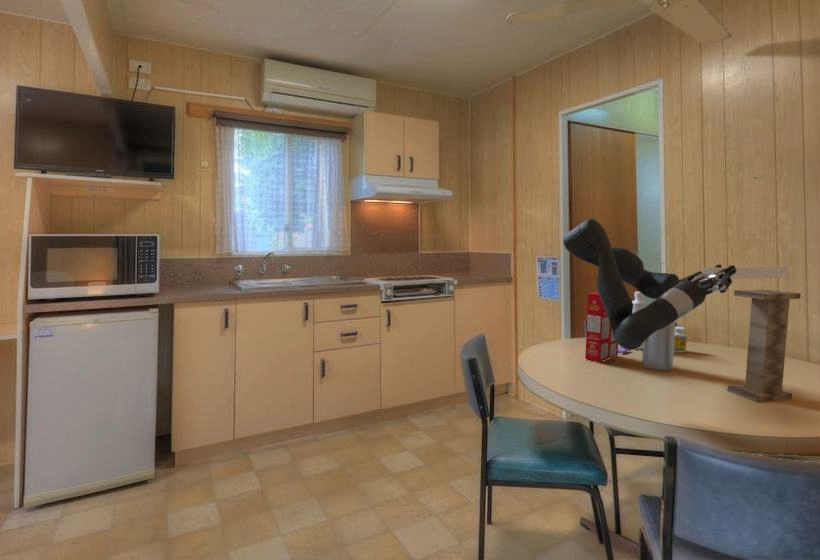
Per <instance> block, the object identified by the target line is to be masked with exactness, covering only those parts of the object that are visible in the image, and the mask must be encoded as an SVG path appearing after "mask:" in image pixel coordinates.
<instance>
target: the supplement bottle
mask: <svg viewBox="0 0 820 560" xmlns="http://www.w3.org/2000/svg"><path fill="white" fill-rule="evenodd" d="M687 338H688V337H687V334H686V328H685V327H682V326H675V336H674V353H686V351H687Z"/></svg>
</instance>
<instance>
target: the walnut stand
mask: <svg viewBox="0 0 820 560" xmlns="http://www.w3.org/2000/svg"><path fill="white" fill-rule="evenodd" d="M733 296H735V297H741V298H742V297H743V298H750V299H751V301H750V303H751V304H750V316H749V329H748V343H747V357H746V369H745V381H744V382H745V383H744V384H733V385H727V388H726V391H727V392H729V393H732V394H735V395H738V396H740V397H743V398H746V399H748V400H751V401H754V402H756V403H757V402H769V401H782V400H783V401H784V400H792V397H793V393H791V392H789V391H786V390H785V391H784V390H783V385H784V384H783V383H784V382H783V381H784V370H785V360H786V358H785V357H786V347H787V334H788V321H789V311H790V301H791V300H801V293H800V292H791V291H782V290H775V289H773V290H772V289H742V290H734V291H733Z"/></svg>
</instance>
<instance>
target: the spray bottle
mask: <svg viewBox="0 0 820 560" xmlns="http://www.w3.org/2000/svg"><path fill="white" fill-rule="evenodd" d="M633 296H634V300H632V302H633V310H632V313H634V312H637V311H639V310H641V309H643V308H645V307H646V306H648V305H649V303H647V301H644V298H645V295H643V294H642V293H641V292H639V291H634V295H633ZM636 349H643V343H642V345H641V346H640V347H638V348H636Z"/></svg>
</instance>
